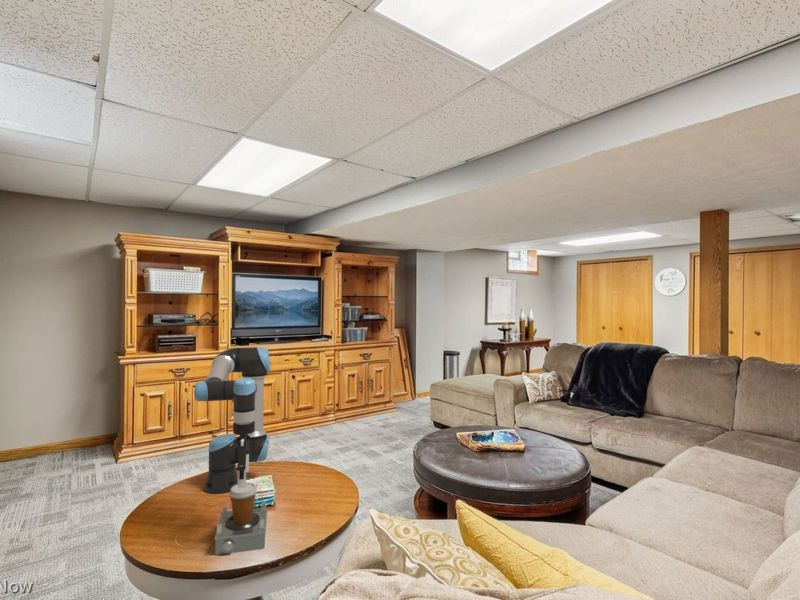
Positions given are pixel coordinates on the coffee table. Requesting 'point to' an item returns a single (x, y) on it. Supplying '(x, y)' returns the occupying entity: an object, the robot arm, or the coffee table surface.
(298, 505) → the coffee table surface
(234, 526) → the hot plate
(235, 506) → the disposable coffee cup
